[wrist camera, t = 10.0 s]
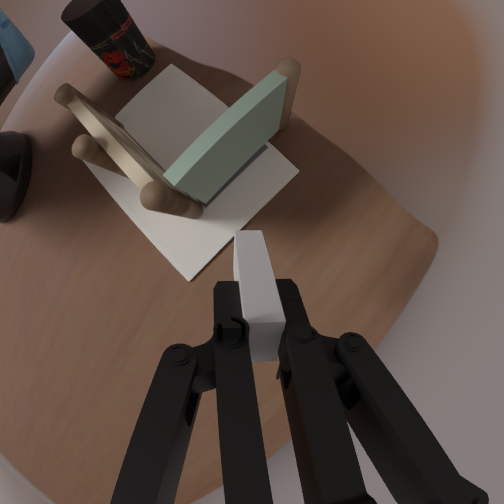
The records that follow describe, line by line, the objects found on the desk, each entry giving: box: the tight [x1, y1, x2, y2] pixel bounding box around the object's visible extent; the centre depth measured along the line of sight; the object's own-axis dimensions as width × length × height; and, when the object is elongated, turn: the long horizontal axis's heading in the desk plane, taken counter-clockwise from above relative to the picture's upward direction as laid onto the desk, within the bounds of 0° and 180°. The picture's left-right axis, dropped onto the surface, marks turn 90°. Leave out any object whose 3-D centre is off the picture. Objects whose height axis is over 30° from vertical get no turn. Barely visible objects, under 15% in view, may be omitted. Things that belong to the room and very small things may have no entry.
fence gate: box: [163, 58, 301, 203], centre depth 23 cm, size 13×2×11 cm, turn 137°
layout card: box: [83, 63, 300, 281], centre depth 29 cm, size 22×17×1 cm
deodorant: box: [61, 0, 155, 81], centre depth 21 cm, size 6×6×15 cm
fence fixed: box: [54, 83, 204, 219], centre depth 23 cm, size 17×4×12 cm, turn 45°
